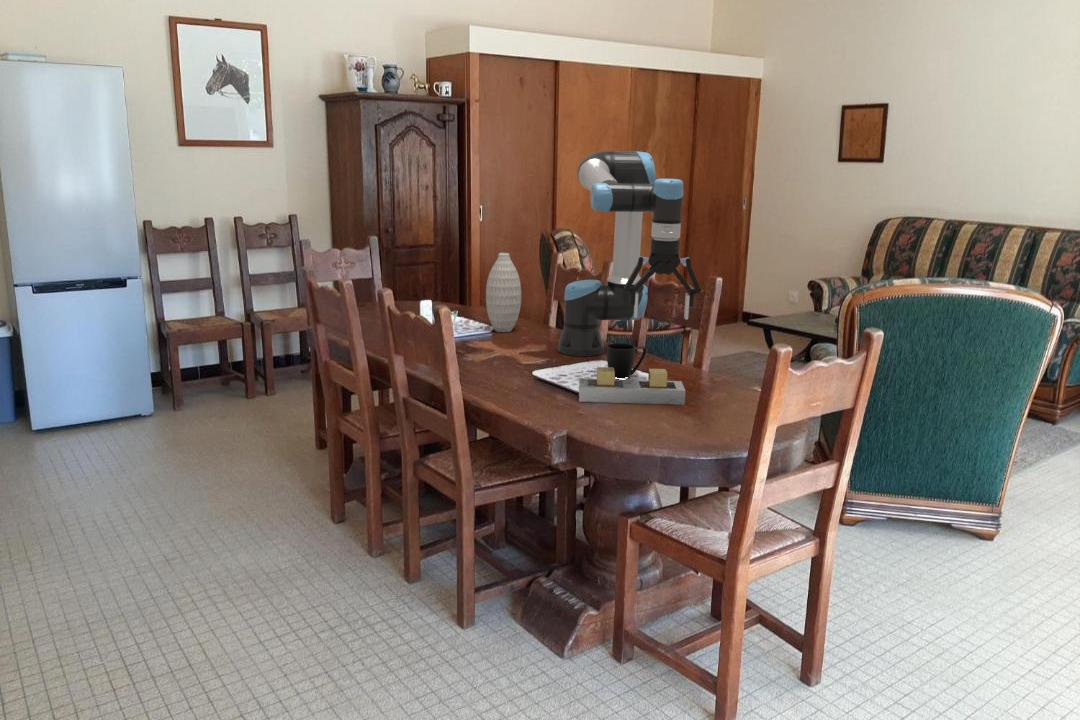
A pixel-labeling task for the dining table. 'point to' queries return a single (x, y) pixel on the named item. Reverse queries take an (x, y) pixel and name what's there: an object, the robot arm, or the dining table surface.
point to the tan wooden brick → (605, 376)
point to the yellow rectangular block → (657, 378)
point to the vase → (503, 294)
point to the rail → (631, 392)
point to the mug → (623, 358)
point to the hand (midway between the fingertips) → (660, 317)
